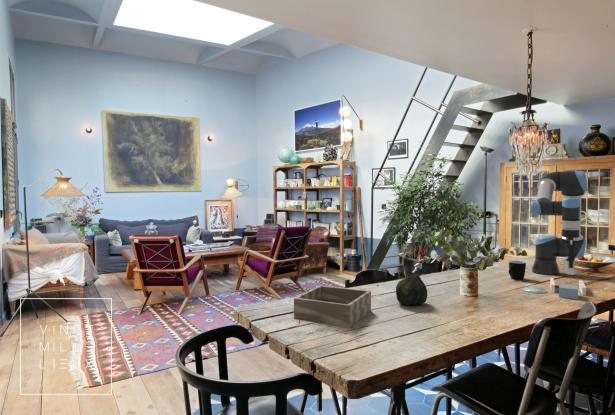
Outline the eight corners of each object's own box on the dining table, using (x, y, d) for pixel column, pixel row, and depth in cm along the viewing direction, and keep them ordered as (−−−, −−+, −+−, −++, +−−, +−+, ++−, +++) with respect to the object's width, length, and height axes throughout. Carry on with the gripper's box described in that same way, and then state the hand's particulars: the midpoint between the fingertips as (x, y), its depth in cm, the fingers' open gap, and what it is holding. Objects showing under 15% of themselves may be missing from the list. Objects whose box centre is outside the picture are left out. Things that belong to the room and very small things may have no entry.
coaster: (523, 287, 232) (523, 286, 232) (546, 289, 227) (546, 288, 227) (522, 291, 223) (522, 290, 223) (547, 294, 217) (547, 292, 217)
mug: (514, 276, 258) (514, 260, 258) (528, 279, 251) (529, 262, 250) (502, 279, 252) (502, 262, 252) (516, 281, 245) (516, 264, 244)
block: (559, 293, 218) (559, 284, 218) (577, 295, 214) (578, 286, 214) (558, 297, 212) (559, 287, 211) (577, 299, 207) (578, 289, 207)
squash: (384, 291, 206) (402, 271, 198) (404, 287, 215) (421, 268, 207) (402, 315, 198) (421, 295, 190) (421, 310, 208) (440, 291, 200)
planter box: (320, 304, 204) (320, 285, 204) (370, 310, 192) (370, 291, 192) (294, 319, 182) (293, 298, 181) (349, 327, 170) (349, 305, 170)
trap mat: (555, 285, 234) (555, 285, 234) (576, 287, 230) (576, 287, 230) (555, 287, 231) (555, 286, 231) (577, 289, 226) (577, 288, 226)
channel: (550, 285, 236) (550, 277, 236) (582, 287, 229) (582, 280, 229) (551, 292, 220) (551, 284, 220) (585, 295, 213) (586, 287, 213)
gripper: (560, 226, 223) (559, 267, 224) (563, 231, 201) (562, 275, 202) (577, 227, 220) (576, 268, 221) (581, 231, 198) (580, 277, 199)
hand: (569, 272), depth 211 cm, fingers open, 13 cm apart
